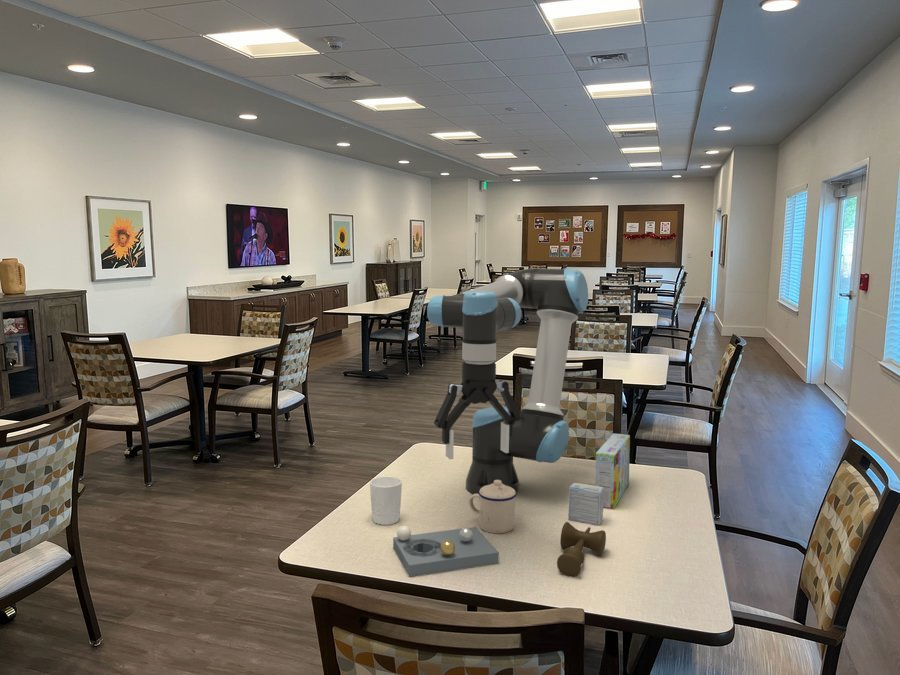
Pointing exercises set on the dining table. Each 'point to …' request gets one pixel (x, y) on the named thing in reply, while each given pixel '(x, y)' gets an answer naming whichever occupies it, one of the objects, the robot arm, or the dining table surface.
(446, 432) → the robot arm
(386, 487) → the white cup
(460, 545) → the gray ball tray
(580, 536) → the kendama
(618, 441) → the snack box
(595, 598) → the dining table surface
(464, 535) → the steel ball
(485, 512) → the teacup with lid
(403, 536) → the white ball
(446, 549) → the brass ball
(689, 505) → the dining table surface
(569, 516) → the medicine box
